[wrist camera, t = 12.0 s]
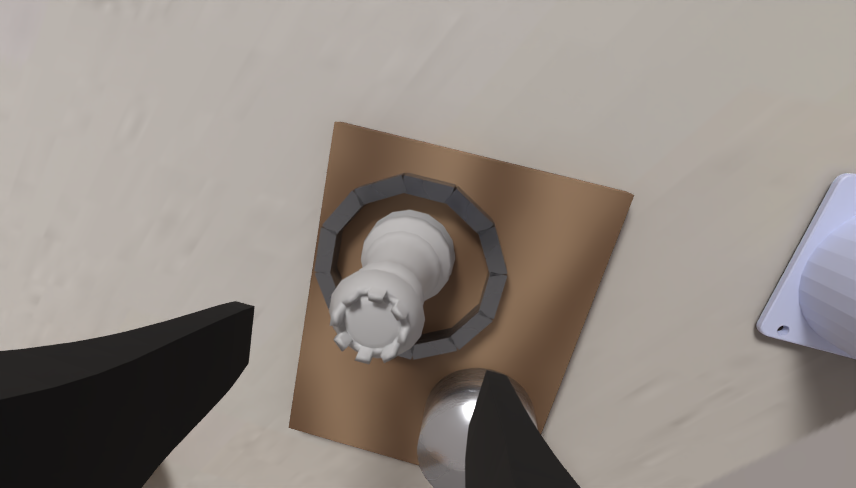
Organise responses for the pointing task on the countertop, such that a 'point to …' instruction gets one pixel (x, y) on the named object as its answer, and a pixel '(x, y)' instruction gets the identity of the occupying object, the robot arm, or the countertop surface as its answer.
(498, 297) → the socket ring
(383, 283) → the rook chess piece
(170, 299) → the countertop surface
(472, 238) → the carrier board
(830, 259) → the robot arm
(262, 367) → the countertop surface
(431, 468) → the silver metal dome
